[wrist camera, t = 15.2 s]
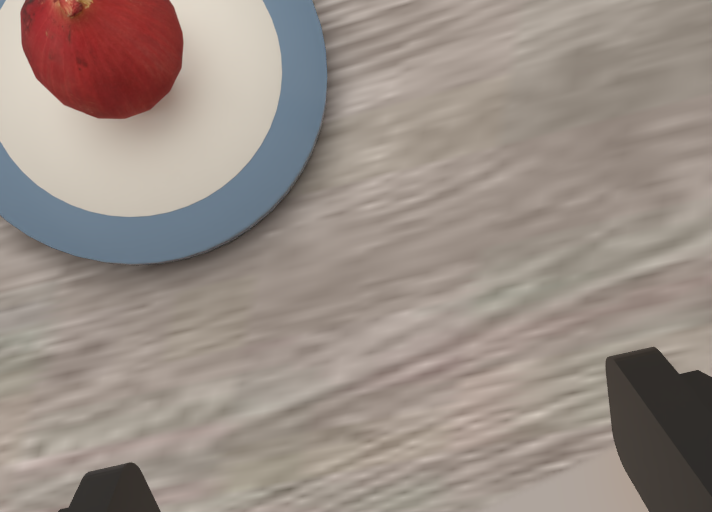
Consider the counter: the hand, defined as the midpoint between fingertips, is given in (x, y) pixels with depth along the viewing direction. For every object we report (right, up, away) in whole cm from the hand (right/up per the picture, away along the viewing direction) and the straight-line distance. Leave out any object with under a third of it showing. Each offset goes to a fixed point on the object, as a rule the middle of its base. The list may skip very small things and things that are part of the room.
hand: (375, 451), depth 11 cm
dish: (-10, +11, +20) cm, 25 cm away
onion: (-10, +11, +18) cm, 24 cm away
